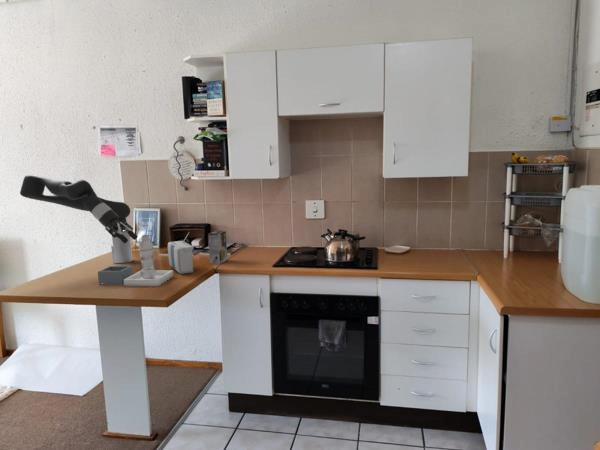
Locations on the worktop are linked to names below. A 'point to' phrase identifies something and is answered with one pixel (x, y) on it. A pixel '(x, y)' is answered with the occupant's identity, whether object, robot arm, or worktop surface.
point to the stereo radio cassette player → (180, 256)
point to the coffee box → (217, 247)
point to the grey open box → (114, 274)
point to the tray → (158, 280)
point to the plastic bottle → (147, 258)
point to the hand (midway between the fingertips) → (131, 240)
